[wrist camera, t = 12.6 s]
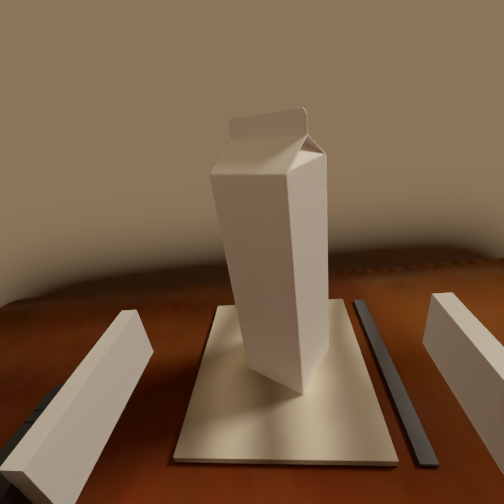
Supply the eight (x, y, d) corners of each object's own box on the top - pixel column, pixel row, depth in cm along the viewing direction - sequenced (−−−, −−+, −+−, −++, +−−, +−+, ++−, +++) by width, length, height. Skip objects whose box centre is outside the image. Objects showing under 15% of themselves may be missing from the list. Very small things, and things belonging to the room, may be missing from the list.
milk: (278, 330, 31) (252, 114, 22) (330, 349, 28) (327, 103, 18) (246, 369, 27) (197, 122, 17) (303, 397, 24) (281, 109, 14)
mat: (363, 301, 34) (363, 297, 34) (438, 466, 18) (440, 461, 18) (218, 309, 37) (218, 306, 37) (175, 462, 21) (173, 457, 21)
